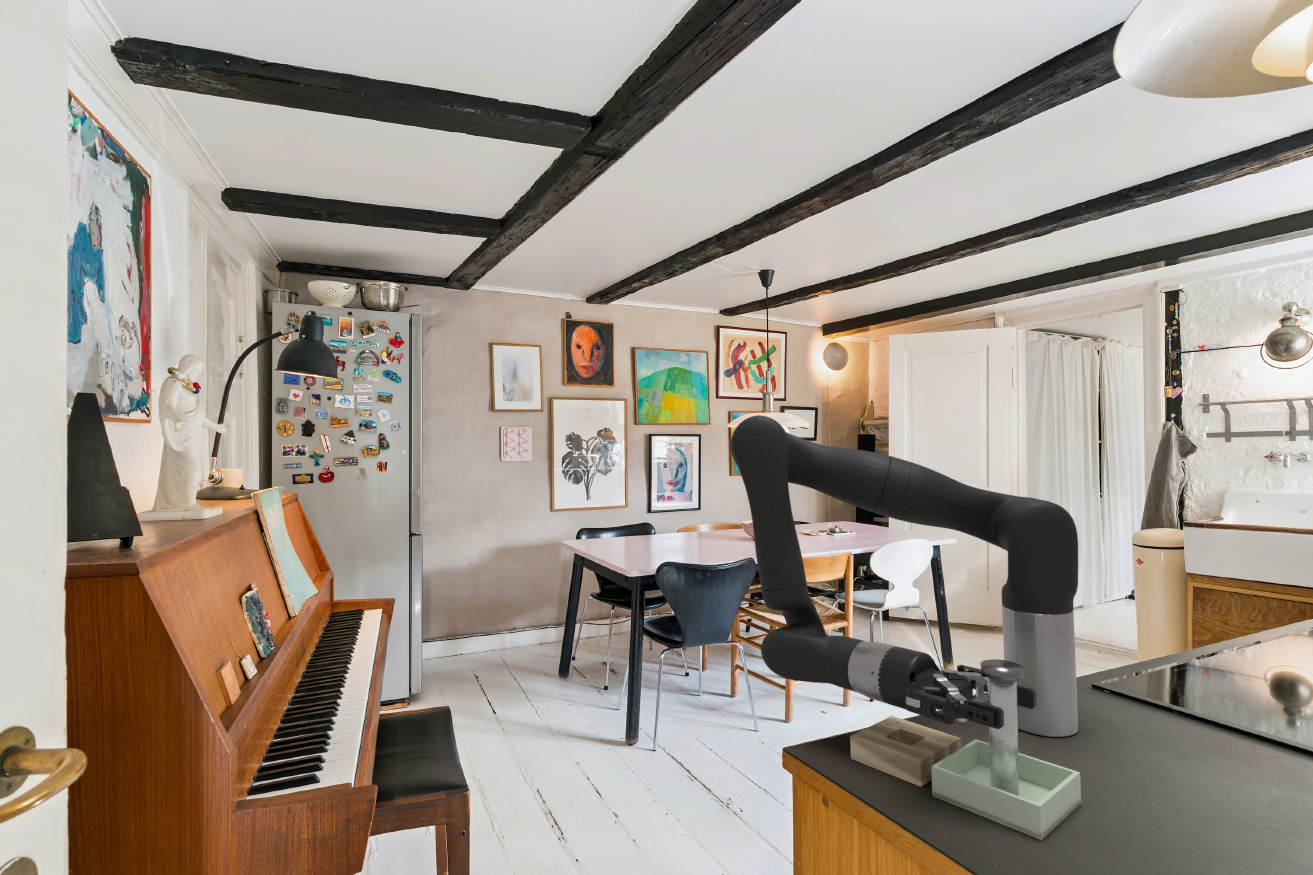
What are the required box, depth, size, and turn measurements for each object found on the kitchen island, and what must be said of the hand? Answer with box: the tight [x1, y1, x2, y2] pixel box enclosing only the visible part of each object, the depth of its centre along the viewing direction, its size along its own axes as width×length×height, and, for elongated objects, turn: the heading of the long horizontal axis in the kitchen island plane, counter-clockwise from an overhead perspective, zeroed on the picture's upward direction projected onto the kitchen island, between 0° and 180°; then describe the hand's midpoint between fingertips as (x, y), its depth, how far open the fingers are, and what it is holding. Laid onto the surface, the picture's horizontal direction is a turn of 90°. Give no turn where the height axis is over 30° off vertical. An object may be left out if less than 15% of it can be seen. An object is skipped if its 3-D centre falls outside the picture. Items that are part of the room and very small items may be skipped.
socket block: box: [849, 715, 962, 788], centre depth 88 cm, size 10×10×3 cm
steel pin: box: [980, 658, 1023, 796], centre depth 78 cm, size 4×4×15 cm
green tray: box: [931, 738, 1082, 841], centre depth 78 cm, size 11×12×4 cm
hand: (1019, 709), depth 77 cm, fingers open, 8 cm apart
